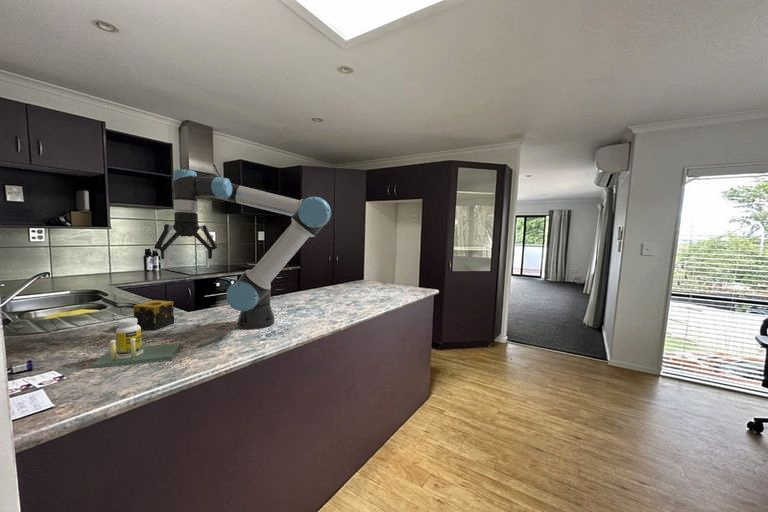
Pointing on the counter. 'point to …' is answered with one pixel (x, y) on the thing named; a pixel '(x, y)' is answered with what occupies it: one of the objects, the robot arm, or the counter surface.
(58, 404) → the counter surface
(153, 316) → the yellow-topped dark cube
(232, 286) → the robot arm
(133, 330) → the pill bottle
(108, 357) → the header board
